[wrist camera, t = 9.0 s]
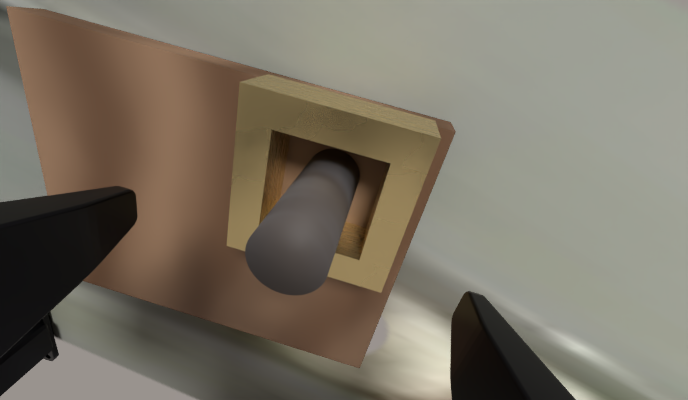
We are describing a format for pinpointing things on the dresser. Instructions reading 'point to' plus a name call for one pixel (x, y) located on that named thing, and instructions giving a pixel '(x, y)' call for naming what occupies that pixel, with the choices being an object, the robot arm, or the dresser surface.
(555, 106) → the dresser surface
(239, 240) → the wooden square frame
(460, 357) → the robot arm
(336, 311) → the keeper board
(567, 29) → the dresser surface
